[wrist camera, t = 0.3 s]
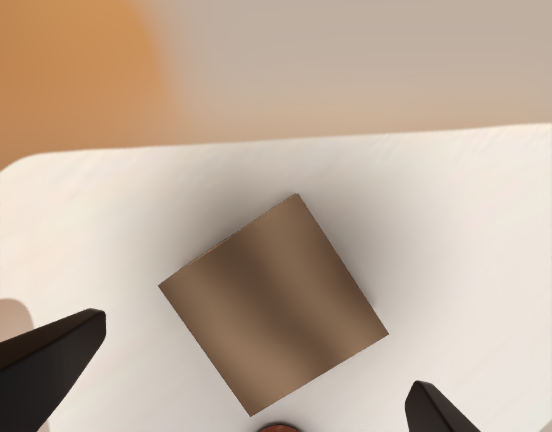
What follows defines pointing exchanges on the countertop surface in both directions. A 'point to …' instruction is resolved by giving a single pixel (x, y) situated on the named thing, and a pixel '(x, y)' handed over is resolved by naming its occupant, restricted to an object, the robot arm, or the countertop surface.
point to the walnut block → (273, 306)
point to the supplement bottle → (279, 429)
